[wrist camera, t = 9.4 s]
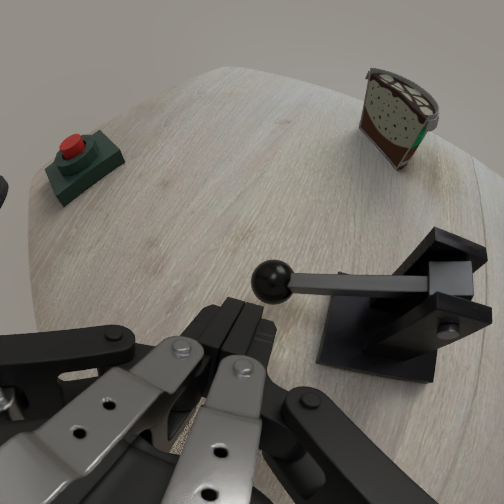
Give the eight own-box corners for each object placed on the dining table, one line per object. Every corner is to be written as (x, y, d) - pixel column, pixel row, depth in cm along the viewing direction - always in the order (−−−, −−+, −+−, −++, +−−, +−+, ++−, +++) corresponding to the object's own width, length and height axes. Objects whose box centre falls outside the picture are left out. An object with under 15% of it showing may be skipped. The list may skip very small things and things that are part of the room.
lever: (257, 309, 21) (236, 290, 19) (269, 273, 23) (251, 250, 20) (464, 322, 13) (475, 300, 11) (463, 277, 14) (471, 249, 12)
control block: (64, 207, 29) (49, 186, 26) (51, 179, 32) (39, 160, 29) (125, 161, 33) (115, 139, 29) (104, 140, 36) (96, 120, 32)
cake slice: (430, 172, 32) (459, 118, 24) (403, 178, 31) (432, 118, 23) (382, 120, 38) (399, 69, 30) (353, 122, 37) (368, 66, 29)
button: (67, 163, 28) (62, 153, 27) (62, 153, 29) (57, 144, 28) (88, 148, 29) (83, 138, 28) (81, 140, 30) (76, 130, 29)
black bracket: (315, 362, 21) (374, 324, 11) (335, 277, 25) (384, 189, 15) (426, 383, 19) (522, 355, 9) (434, 304, 23) (511, 242, 13)
